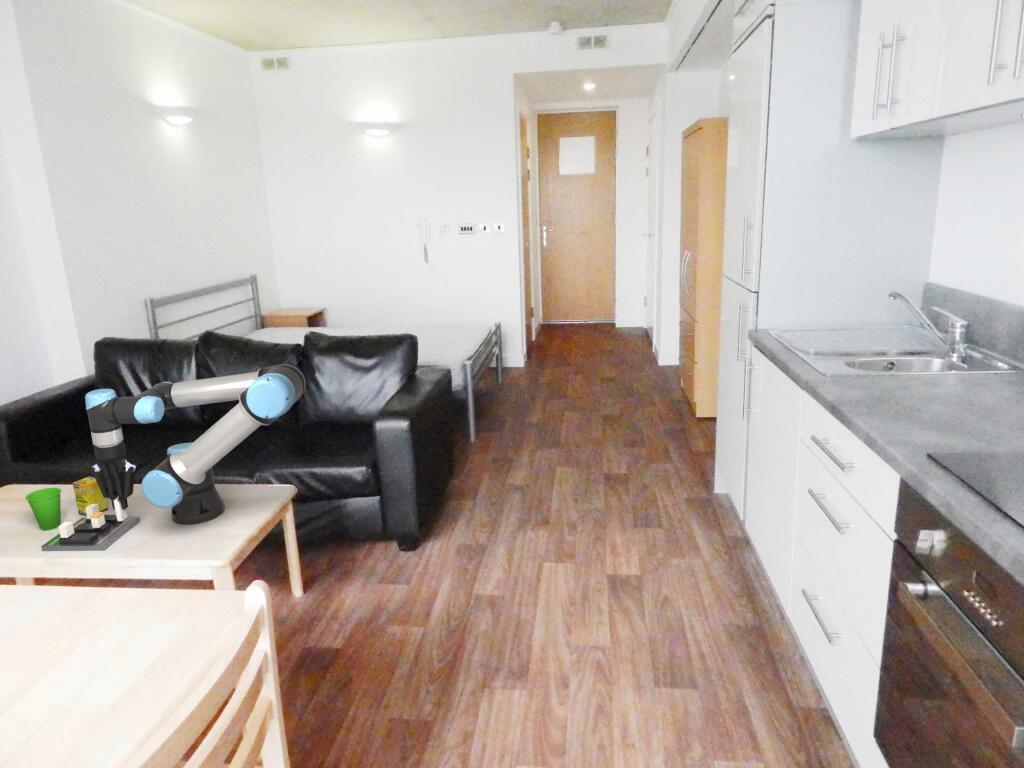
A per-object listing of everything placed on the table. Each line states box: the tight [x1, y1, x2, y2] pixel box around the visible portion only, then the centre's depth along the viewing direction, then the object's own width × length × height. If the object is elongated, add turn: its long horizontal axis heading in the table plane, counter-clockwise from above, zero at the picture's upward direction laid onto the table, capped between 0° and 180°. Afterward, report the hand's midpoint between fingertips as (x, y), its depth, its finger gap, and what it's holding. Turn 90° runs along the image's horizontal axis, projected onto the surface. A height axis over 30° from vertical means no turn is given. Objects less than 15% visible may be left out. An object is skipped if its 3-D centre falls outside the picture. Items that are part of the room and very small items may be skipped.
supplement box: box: [72, 476, 109, 517], centre depth 214 cm, size 6×6×11 cm
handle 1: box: [58, 521, 74, 538], centre depth 193 cm, size 2×3×4 cm, turn 179°
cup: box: [25, 487, 62, 532], centre depth 205 cm, size 9×9×11 cm
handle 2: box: [85, 504, 99, 519], centre depth 204 cm, size 2×3×4 cm, turn 179°
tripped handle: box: [90, 512, 105, 528], centre depth 198 cm, size 2×3×4 cm, turn 179°
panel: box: [40, 514, 140, 552], centre depth 199 cm, size 18×18×3 cm
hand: (122, 518), depth 198 cm, fingers closed
